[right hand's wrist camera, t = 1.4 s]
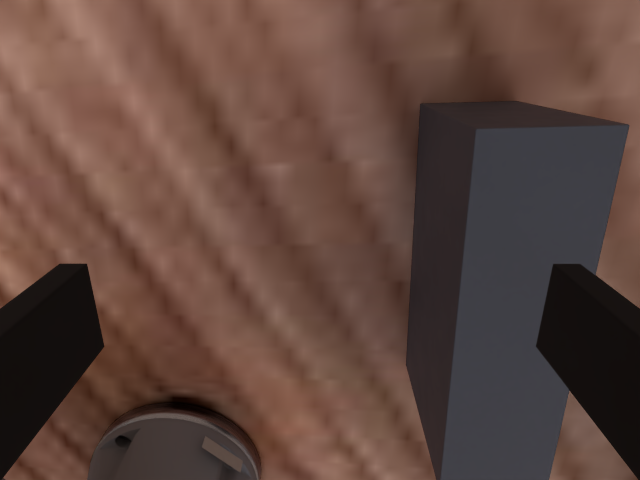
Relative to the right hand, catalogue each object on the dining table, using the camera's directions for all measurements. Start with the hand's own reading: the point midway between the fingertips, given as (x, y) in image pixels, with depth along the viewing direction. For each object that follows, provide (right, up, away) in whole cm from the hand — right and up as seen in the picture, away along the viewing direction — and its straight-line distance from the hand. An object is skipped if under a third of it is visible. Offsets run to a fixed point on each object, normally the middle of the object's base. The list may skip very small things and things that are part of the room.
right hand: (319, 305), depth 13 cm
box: (+10, +1, +21) cm, 23 cm away
